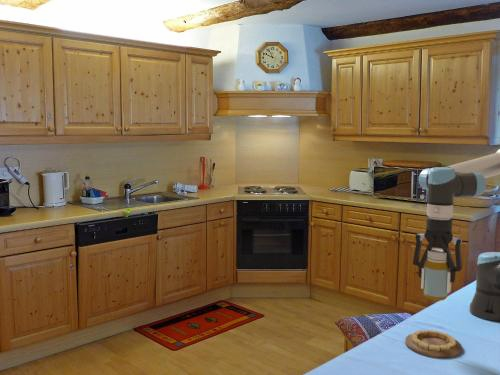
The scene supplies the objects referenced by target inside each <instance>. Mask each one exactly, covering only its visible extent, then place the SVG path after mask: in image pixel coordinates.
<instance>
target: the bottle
mask: <svg viewBox="0 0 500 375" xmlns="http://www.w3.org/2000/svg"><path fill="white" fill-rule="evenodd" d="M446 255H447V254H446V253H444V251H443V249H442V248H438V247H433V248H432V249H431V250H430V251H429V250H428V255H427V260H426V262H425V264H424V267H425V279H424V289H423V296H424V297H425V298H426V299H428V300H431V301H445V300H446V299H447V298H448V294H449V293H446V292H447V274H448V271H449V270H450V269H449V266H448V263H447V259H446Z"/></svg>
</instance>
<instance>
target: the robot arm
mask: <svg viewBox="0 0 500 375" xmlns="http://www.w3.org/2000/svg"><path fill="white" fill-rule="evenodd" d="M498 175H500V149H497V150H496V151H495V153H491V154H487V155H485V156H480V157H477V158H474V159H469V160H466V161H463V162H458V163H454V164H450V165H448V166H443V167H440V166H438V167H437V166H435V167H431V168H429V167H428V168H424V169H423V170H422V171H421V172H420V173H419V176H418V183H419V184H418V185H419V186H420V188H422V189H423V190H426V191H427V202H426V203H427V204H426V205H427V206H426V216H427V218H426V222H425V223H426V225H425V232H424V233H419V232H418V233H417V234H416V235H415V248H414V255H413V259H412V260H413V261H412V264H413V266H417V268H418V278H421V280H420V281H421V283H420V289H422V290H424V279H425V264H426V261H427V255H428V250H429V251H430V250H431V249H432V248H438V249H443V251H444V253H446V254H447V255H446V259H447V263H448V266H449V271H448V274H447V292H446V293H448V294H450V292H451V290H452V283H454V282H455V280H456V272H460V271H462V269H463V260H462V248H461V247H462V246H461V245H462V243H463V238H462V237H459V238H458V237H455V236H454V235H453V219H452V218H453V215H454V200H455V199H456V198H473V197H478V196H481V195H482V194H484V193H485V191H486V189H487V180H486V179H487V178H488V179H489V178H491V177H495V176H498ZM425 239H426V242H427V243H428V244H427V245H426V249H425V250H424V253H423V255H422V257H421V250H422V245H423V240H425ZM451 242H453V245H454V251H455V252H454V253H455V263H454V259H453V256H452V253H451V251H450V250H451V249H450V245H449V244H450V243H451ZM420 257H421V259H420ZM419 260H420V261H419ZM475 281H476V282H475V293H474V295H473V297H472V300H471V302H470V305H469V313H471V314H472V315H473V316H475V317H477V318H479V319H483V320H487V321H488V320H489V321H494V322H500V251H490V252H489V251H488V252H481V253H480V254H479V255H478V258H477V263H476V280H475Z"/></svg>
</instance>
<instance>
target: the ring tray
mask: <svg viewBox="0 0 500 375" xmlns="http://www.w3.org/2000/svg"><path fill="white" fill-rule="evenodd" d="M404 342H405V343H404V344H405V346H406V347H407V349H409V350H410V351H412V352H414V353H416V354H419V355H422V356H424V357H428V358H429V357H430V358H436V359H447V358H448V359H450V358H454V357H457V356H460V354H462V350H463V346H462V344H461V343H460V342H459V341H458V340H457V339H455V338H454V337H453V336H452V335H450V334H448V333H445V332H442V331H437V330H433V329H432V330H429V329H425V330H424V329H423V330H416V331H414V332H413V333H410V334H408V335H407V336H406V337H405V340H404Z"/></svg>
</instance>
